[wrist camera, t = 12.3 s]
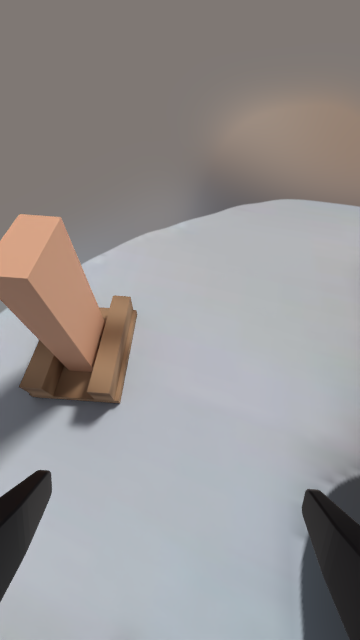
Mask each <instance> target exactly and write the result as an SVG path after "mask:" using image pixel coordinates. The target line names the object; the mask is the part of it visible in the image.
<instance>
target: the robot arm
mask: <svg viewBox="0 0 360 640" xmlns="http://www.w3.org/2000/svg"><path fill="white" fill-rule="evenodd" d="M51 493H52V482H51V472H50V471H47V470H38V471H36V472H35V473H33V474H32V475H30V476H29V477H28V478H26V479H25V480H24V481H22V482H21V483H19V484H18V485H17V486H15V487H14V488H12V489H11V490H10V491H8V492H7V493H6V494H4V495H3V496H1V497H0V602H1V600H2V598H3V596H4V594H5V592H6V590H7V588H8V587H9V585H10V583H11V581H12V579H13V577H14V575H15V573H16V571H17V570H18V568H19V566H20V564H21V562H22V560H23V558H24V556H25V554H26V552H27V550H28V548H29V545H30V543H31V541H32V538H33V536H34V534H35V532H36V529H37V527H38V525H39V522H40V520H41V518H42V515H43V513H44V511H45V508H46V506H47V504H48V501H49V499H50V496H51ZM302 514H303V518H304V521H305V524H306V527H307V530H308V533H309V536H310V539H311V542H312V545H313V548H314V551H315V554H316V557H317V560H318V563H319V566H320V569H321V571H322V574H323V577H324V579H325V582H326V584H327V587H328V589H329V591H330V594H331V596H332V599H333V601H334V604H335V606H336V608H337V611H338V613H339V615H340V618H341V620H342V623H343V625H344V628H345V630H346V632H347V635H348V637H349V640H360V525H359V524H358V523H356V522H355V521H354V520H353V519H352V518H351V517H350V516H348V515H347V514H346V513H345V512H344V511H343V510H342V509H340V508H339V507H338V506H337V505H336V504H334V502H332V501H331V500H330V499H329V498H328V497H327V496H326V495H324V494H323V493H322V492H321V491H319V490H315V489H307V490H306V492H305V496H304V500H303V505H302Z"/></svg>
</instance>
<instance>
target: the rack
mask: <svg viewBox="0 0 360 640" xmlns="http://www.w3.org/2000/svg"><path fill="white" fill-rule="evenodd" d="M99 309H100V312H101V314H102V316H103V319H104V321H105V327H104V331H103V335H102V338H101V342H100V346H99V349H98V353H97V357H96V360H95V364H94V368H93V371H92V372H83V371H69V370H68V369H67V368H66V367H65V366H64V365H63V364H62V363H61V362H60V361H59V359H58V358H57V357H56V356H55V355H54V354H53V353H52V352H51V351H50V350H49V349H48V348H47V347H46V346H45V345H44V344H43V343H42V342H41V341H40V340H39V342H38V344H37V347H36V349H35V351H34V354H33V356H32V358H31V361H30V363H29V365H28V367H27V370H26V372H25V374H24V377H23V379H22V381H21V384H20V386H19V387H20V388H22V389H24V390H25V391H27V392H29V393H30V394H29V395H31V396H32V397H39V398H53V399H67V400H80V401H94V402H108V403H120V401H121V396H122V390H123V385H124V380H125V375H126V370H127V364H128V359H129V354H130V349H131V344H132V338H133V333H134V328H135V323H136V317H137V311H136V310H133V307H132V302H131V297H126V296H113V298H112V302H111V305H110V308H99Z"/></svg>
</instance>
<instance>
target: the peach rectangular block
mask: <svg viewBox="0 0 360 640" xmlns="http://www.w3.org/2000/svg"><path fill="white" fill-rule="evenodd" d="M0 300H1V301H2V302H3V303H4V304H5V305H6V306H7V307H8V308H9V309H10V310H11V311H12V312H13V313H14V314H15V315H16V316H17V317H18V318H19V319H20V321H21V322H22V323H23V324H24V325H25V326H26V327H27V328H28V329H29V330H30V331H31V332H32V333H33V334H34V335H35V336H36V337H37V338H38V339H39V340H40V341H41V342H42V343H43V344H44V345H45V346H46V347H47V348H48V349H49V350H50V351H51V352H52V353H53V354H54V355H55V356H56V357H57V358H58V359H59V361H60V362H61V363H62V364H63V365H64V366H65V367H66V368H67V369H68V370H69V371H83V372H92V371H93V368H94V364H95V360H96V357H97V353H98V349H99V346H100V342H101V338H102V335H103V331H104V327H105V321H104V319H103V316H102V314H101V312H100V309H99V307H98V305H97V302H96V300H95V297H94V295H93V293H92V290H91V288H90V285H89V283H88V281H87V278H86V276H85V274H84V271H83V269H82V266H81V264H80V262H79V259H78V257H77V255H76V252H75V250H74V248H73V245H72V243H71V240H70V238H69V235H68V233H67V231H66V229H65V226H64V224H63V222H62V219H61V217H51V216H36V215H24V214H19V216H18V217H17V218H16V220H15V221H14V222H13V224H12V225H11V227H10V228H9V229H8V231H7V232H6V234H5V235H4V236H3V238H2V239H1V241H0Z"/></svg>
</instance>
